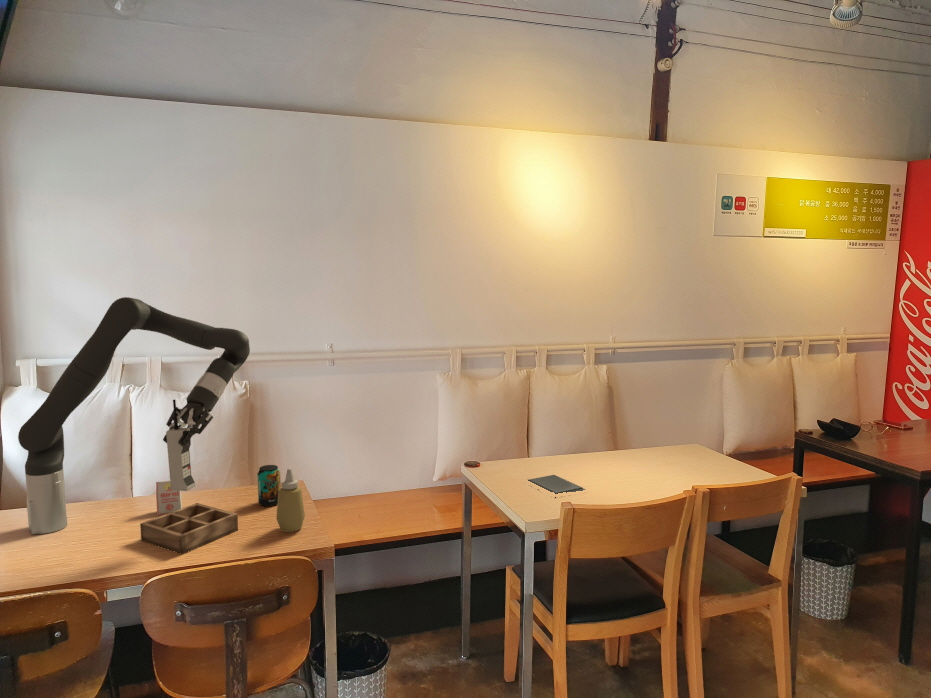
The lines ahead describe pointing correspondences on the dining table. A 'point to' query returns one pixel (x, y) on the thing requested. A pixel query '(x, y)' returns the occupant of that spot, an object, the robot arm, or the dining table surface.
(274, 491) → the beverage can
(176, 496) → the tea bag
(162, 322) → the robot arm
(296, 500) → the squeeze bottle
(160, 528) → the wooden compartment tray
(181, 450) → the vintage mobile phone
